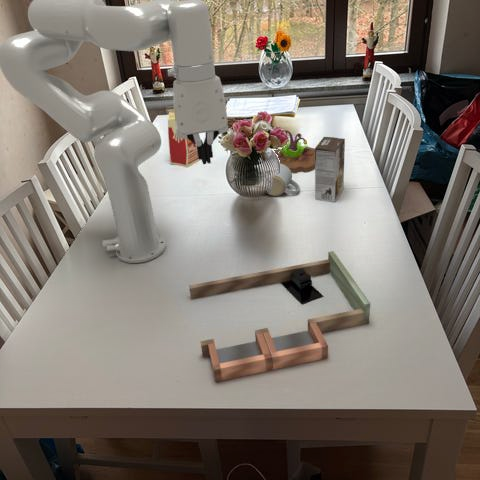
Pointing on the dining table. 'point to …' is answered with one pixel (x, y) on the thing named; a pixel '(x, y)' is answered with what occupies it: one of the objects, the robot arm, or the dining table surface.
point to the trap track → (288, 346)
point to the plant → (297, 155)
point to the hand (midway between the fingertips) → (206, 161)
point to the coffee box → (329, 168)
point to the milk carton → (180, 145)
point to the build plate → (302, 287)
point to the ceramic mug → (283, 182)
